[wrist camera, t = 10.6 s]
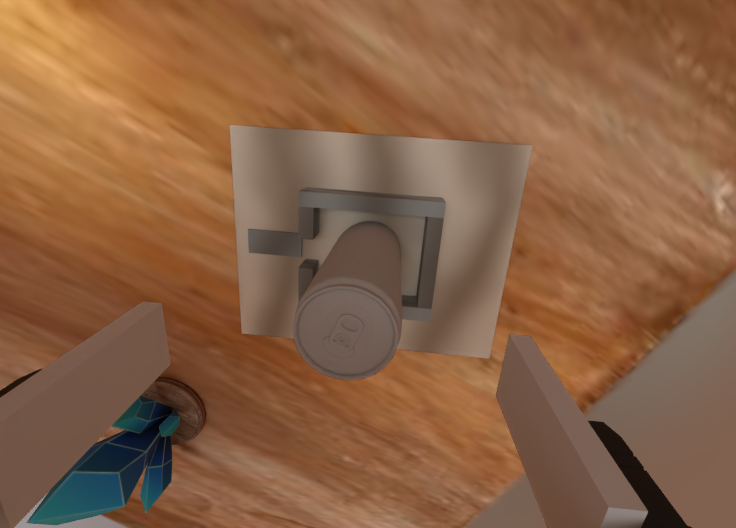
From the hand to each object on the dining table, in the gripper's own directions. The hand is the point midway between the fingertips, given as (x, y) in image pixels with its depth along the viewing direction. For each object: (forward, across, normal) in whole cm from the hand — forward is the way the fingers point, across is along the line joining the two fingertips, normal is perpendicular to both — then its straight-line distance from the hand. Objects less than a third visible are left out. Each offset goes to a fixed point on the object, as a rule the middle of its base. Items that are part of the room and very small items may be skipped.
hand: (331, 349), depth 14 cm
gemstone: (+15, -17, -18) cm, 29 cm away
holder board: (+15, +1, 0) cm, 15 cm away
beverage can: (+14, +1, 0) cm, 14 cm away
